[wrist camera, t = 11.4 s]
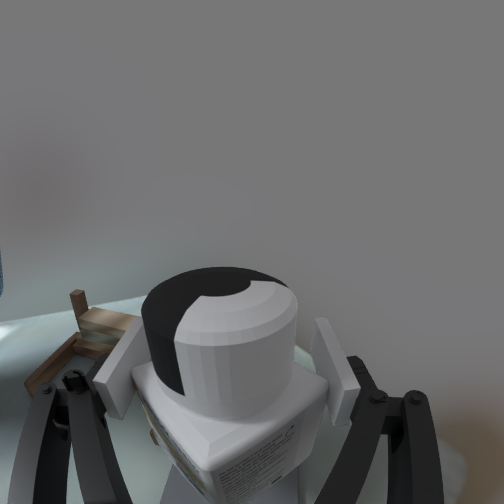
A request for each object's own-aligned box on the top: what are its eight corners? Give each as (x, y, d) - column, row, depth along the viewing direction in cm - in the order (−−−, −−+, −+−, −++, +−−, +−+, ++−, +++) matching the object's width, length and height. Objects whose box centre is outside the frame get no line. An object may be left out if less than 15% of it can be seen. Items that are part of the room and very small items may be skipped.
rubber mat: (156, 519, 12) (155, 517, 12) (185, 431, 22) (184, 428, 22) (297, 535, 11) (298, 534, 11) (295, 439, 21) (296, 437, 21)
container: (157, 443, 15) (105, 277, 11) (240, 401, 20) (234, 247, 16) (223, 519, 9) (177, 369, 6) (312, 454, 14) (351, 283, 11)
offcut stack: (77, 347, 31) (68, 320, 30) (94, 330, 36) (87, 305, 35) (172, 367, 30) (166, 338, 29) (184, 344, 35) (180, 316, 34)
